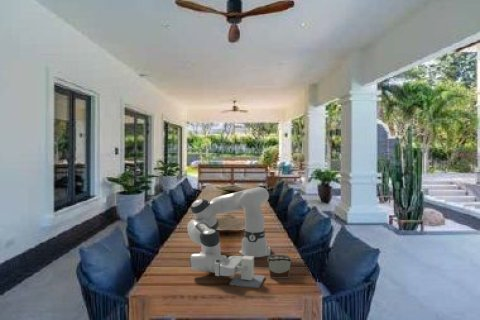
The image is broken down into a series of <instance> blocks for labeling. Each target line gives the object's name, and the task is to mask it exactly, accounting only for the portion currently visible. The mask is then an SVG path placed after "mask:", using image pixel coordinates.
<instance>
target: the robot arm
mask: <svg viewBox="0 0 480 320" xmlns="http://www.w3.org/2000/svg"><path fill="white" fill-rule="evenodd" d="M269 193H270V192H268V190H267V189H266V188H264V187H259V186H258V187H257V186H256V187H253V188H250V189H249V188H248V189H243V190H240V191H235V192H232V193H228V194H222V195H219V196H217V197H214V198H211V200H210V199H205V198H199V199H196V200H194V201H193V202H192V203H191V205H190V210H191V212H192V214H193V216H194V218H193V219H191V220H190V221H188V223H187V226H186V229H187V230H186V231H187V233H188V236H189V238H190V240H191V241H192V242H193V243H195V244H196V245H200V247H201V251H200V252H198V253H197V252H196V253H191V255H190V257H189V265H190V268H191V269H192V270H193V271H196V272H204V273H208V272H211V273H212V274H213V273H214V276H215V277H221V276H222V277H233V276H235V274H237V272H241V271H246V270H247V266H243V267H241V259H242V257H243V256H254V258H262V257H269V256H271V247H270V246H268V244H267V243H268V241H267V238H266V231H265V217H264V214H263V213H262V208H261V207H262V206H264V205H265V204H266V203H267V202H268V200H269V199H270V194H269ZM242 210H243V214H244V219H245V222H244V232H243V234H244V237H243V238H242V239H241V249H240V250H239V251H238V253H239V254H241V255H230V256H229V257H227V255H225V254H221V239H220V238H221V236H220V232H219V231H217V229H218V228H219V225H220V224H219V220H218V218H217V217H216V215H220V214H221V215H222V214H228V213H234V212H238V211H242Z"/></svg>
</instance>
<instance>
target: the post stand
mask: <svg viewBox="0 0 480 320" xmlns="http://www.w3.org/2000/svg"><path fill="white" fill-rule="evenodd" d="M265 279H266V276H265V275H259V274H254V277H253V279H252V280H245V279H241V272H240V273H239V272H238V273H237V272H236V275H234V277H233V278H232V280H231V281H230V282H229V286H234V285H235V286H236V287H242V288H243V287H244V288H245V287H246V288H253V289H254V288H255V289H260V287H261V285H262V283H264V280H265ZM235 286H234V287H235Z"/></svg>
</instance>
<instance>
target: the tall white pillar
mask: <svg viewBox="0 0 480 320" xmlns="http://www.w3.org/2000/svg"><path fill="white" fill-rule="evenodd" d="M242 256H243V257H242V259H241V267H243V266H247V270H246V271H240V273H241V279H245V280H252V279H253V277H254V275H255V257H254V256H244V255H242Z"/></svg>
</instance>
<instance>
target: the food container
mask: <svg viewBox="0 0 480 320" xmlns="http://www.w3.org/2000/svg"><path fill="white" fill-rule="evenodd" d="M267 263H268V270H269V278H270V279H271V278H272V279H278V278H279V279H280V278H281V279H283V278H285V279H286V278H287V279H289V278H290V271H291V263H293V260H292V257H291V256H289V255H286V254H272V255H271V254H270V255H269V256H267ZM277 277H278V278H277Z"/></svg>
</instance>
